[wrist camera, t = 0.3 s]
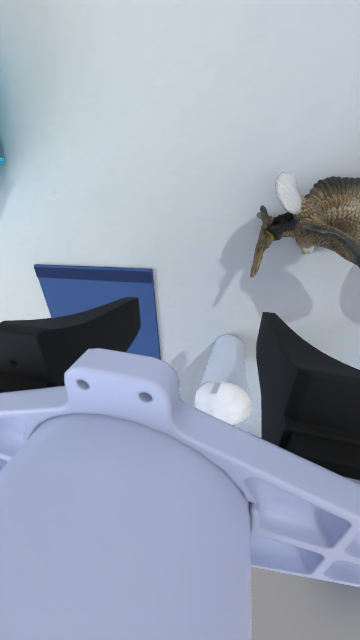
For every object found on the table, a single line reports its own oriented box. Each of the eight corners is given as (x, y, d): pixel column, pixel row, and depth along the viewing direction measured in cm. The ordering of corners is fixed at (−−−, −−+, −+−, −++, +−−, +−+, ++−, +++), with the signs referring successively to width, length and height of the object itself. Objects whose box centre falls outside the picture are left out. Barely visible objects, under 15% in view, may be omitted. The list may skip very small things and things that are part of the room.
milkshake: (247, 320, 24) (247, 393, 16) (252, 362, 26) (254, 446, 18) (203, 323, 25) (182, 392, 17) (211, 363, 28) (196, 441, 19)
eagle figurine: (254, 288, 21) (378, 301, 18) (243, 263, 15) (439, 275, 11) (268, 205, 21) (394, 201, 18) (264, 143, 15) (462, 117, 11)
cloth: (165, 407, 34) (164, 409, 33) (78, 392, 37) (77, 394, 36) (152, 268, 24) (151, 270, 24) (35, 264, 27) (33, 265, 27)
